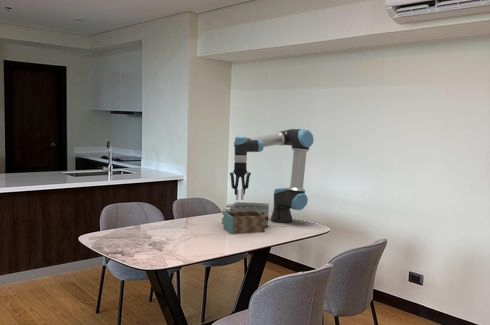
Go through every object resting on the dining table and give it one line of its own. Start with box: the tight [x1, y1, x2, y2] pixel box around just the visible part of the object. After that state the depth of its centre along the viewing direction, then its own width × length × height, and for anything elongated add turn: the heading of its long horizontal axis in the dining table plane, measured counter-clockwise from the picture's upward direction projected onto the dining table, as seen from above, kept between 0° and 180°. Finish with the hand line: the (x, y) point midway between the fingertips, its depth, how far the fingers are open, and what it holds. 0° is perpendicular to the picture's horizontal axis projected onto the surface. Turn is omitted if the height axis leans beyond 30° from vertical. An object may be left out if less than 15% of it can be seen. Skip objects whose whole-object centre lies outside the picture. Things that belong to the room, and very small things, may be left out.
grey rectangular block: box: [221, 201, 270, 227], centre depth 293 cm, size 8×30×15 cm, turn 84°
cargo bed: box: [226, 211, 266, 235], centre depth 275 cm, size 20×16×12 cm
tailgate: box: [223, 212, 234, 235], centre depth 271 cm, size 1×16×10 cm, turn 19°
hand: (239, 199), depth 273 cm, fingers open, 3 cm apart
